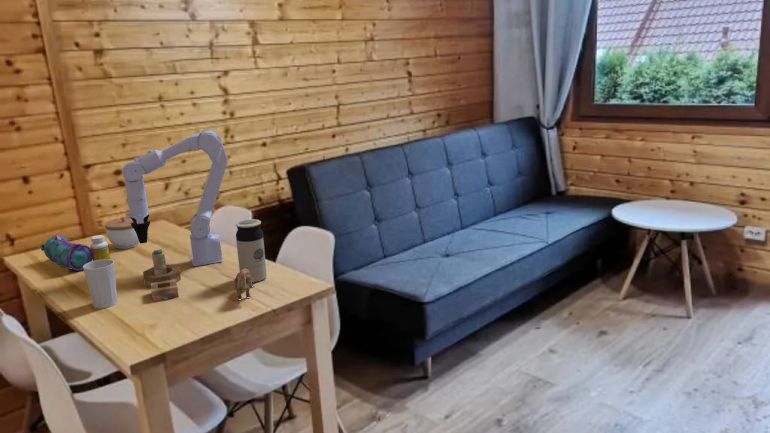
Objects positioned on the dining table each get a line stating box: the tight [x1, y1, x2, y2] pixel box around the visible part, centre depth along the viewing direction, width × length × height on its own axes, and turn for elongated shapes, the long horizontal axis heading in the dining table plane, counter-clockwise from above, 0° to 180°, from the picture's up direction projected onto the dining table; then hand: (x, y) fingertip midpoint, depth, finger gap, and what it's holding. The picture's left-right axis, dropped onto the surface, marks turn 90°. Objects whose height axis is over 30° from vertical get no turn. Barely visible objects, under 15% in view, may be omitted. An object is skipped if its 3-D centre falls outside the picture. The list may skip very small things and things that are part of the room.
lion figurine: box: [234, 268, 254, 300], centre depth 173 cm, size 15×5×9 cm, turn 16°
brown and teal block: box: [151, 249, 167, 275], centre depth 186 cm, size 4×4×10 cm
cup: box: [83, 258, 119, 309], centre depth 169 cm, size 8×8×12 cm
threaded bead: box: [150, 279, 179, 302], centre depth 175 cm, size 7×7×3 cm
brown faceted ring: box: [142, 264, 182, 287], centre depth 186 cm, size 10×10×3 cm
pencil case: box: [40, 234, 93, 272], centre depth 202 cm, size 21×9×10 cm, turn 50°
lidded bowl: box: [104, 216, 140, 250], centre depth 221 cm, size 13×13×11 cm
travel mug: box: [235, 218, 268, 283], centre depth 183 cm, size 8×8×18 cm
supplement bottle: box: [89, 234, 111, 261], centre depth 202 cm, size 5×5×10 cm
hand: (143, 239), depth 195 cm, fingers open, 7 cm apart
